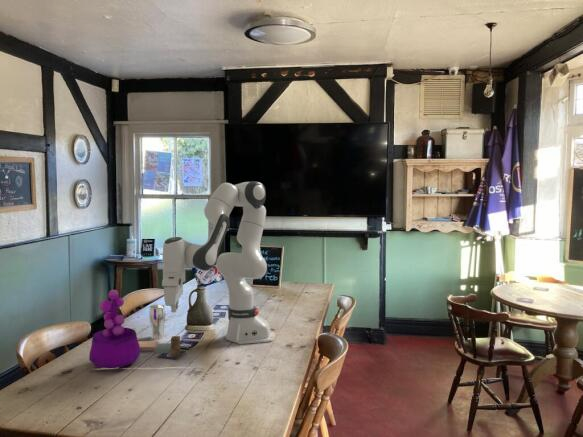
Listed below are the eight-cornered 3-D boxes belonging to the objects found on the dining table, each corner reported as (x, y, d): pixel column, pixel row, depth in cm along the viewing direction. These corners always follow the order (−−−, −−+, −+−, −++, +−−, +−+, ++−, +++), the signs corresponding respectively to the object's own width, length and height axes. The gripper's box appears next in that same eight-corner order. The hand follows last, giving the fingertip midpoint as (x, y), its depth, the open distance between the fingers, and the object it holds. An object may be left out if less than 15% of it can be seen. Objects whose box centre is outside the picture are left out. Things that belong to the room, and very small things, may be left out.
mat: (174, 344, 212) (174, 343, 211) (169, 354, 200) (169, 353, 200) (132, 345, 210) (132, 343, 210) (125, 355, 199) (125, 353, 199)
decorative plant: (91, 378, 177) (89, 298, 174) (87, 360, 193) (85, 287, 190) (144, 368, 185) (142, 292, 182) (136, 352, 202) (134, 282, 199)
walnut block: (180, 354, 200) (180, 336, 199) (179, 357, 197) (178, 338, 196) (172, 355, 200) (172, 336, 199) (171, 357, 196) (170, 338, 196)
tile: (158, 341, 209) (137, 341, 208) (154, 346, 202) (132, 347, 201) (158, 345, 209) (137, 345, 208) (154, 351, 202) (132, 351, 201)
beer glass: (161, 341, 215) (160, 308, 214) (147, 340, 216) (146, 308, 215) (168, 336, 222) (167, 304, 220) (154, 335, 223) (153, 303, 222)
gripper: (171, 272, 205) (171, 303, 207) (160, 283, 185) (161, 318, 186) (186, 272, 206) (186, 303, 207) (177, 283, 185) (178, 318, 187)
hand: (174, 310), depth 196 cm, fingers open, 2 cm apart
